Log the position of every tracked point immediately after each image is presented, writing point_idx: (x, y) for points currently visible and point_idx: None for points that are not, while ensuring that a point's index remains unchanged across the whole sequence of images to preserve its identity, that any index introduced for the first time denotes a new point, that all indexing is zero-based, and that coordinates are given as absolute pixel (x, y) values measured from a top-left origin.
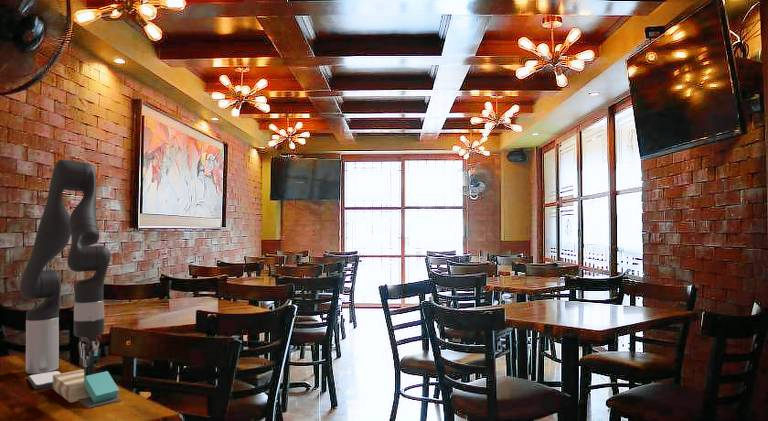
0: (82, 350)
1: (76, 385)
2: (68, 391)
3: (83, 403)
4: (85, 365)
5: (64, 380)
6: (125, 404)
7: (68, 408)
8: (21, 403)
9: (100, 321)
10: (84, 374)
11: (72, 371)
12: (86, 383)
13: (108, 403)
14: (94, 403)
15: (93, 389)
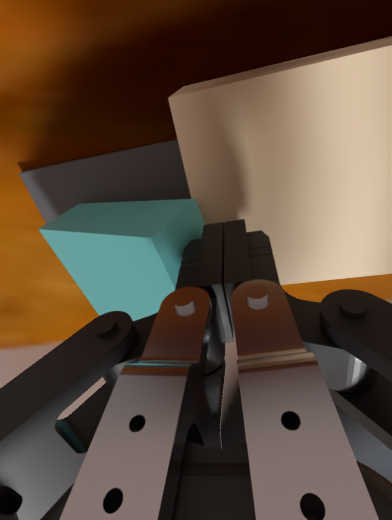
0: (256, 515)
1: (211, 150)
2: (220, 82)
3: (100, 156)
4: (175, 303)
5: None
6: (38, 292)
7: (65, 69)
8: None
9: None
10: (236, 239)
11: None
12: (139, 217)
13: None
14: (70, 203)
15: (65, 234)
